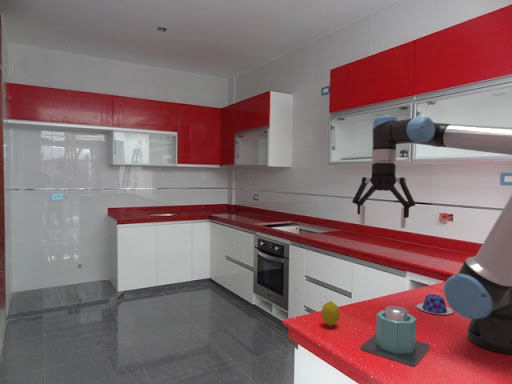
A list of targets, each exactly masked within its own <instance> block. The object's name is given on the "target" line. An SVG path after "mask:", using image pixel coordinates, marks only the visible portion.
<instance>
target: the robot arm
mask: <svg viewBox="0 0 512 384" xmlns="http://www.w3.org/2000/svg"><path fill="white" fill-rule="evenodd" d="M372 124H373V125H372V126H373V127H372V152H371V153H372V154H371V158H372V159H371V161H372V162H373V163H372V164H371V177H367V176H364V177H362V178H361V183H360V186H358V187H359V188H358V189H357V191H356V193H355V195H354V197H353V199H352V203H353V204H355V205H357V215H359V225H365V221H366V204H365V203H366V202H367V201H368V199H369V198H370V197H371V196H372V195H373V193H374V192H376V191H385V192H389V191H390V192H391V193H392V194H393V195H394V196H395V198H396V199H397V200H398V202H399V203H400V204H401V205H402V206H403V207H400V208H401V209H400V229H405V228H406V219H408V218H409V217H410V208H411V207H415V206H416V202H415V200H414V198H413V196H412V194H411V192H410V190H409V188H408V186H407V179H406V178H405V177H399V178H397V176H396V167H397V165H396V164H395V162H396V161H397V159H396V158H397V145H400V144H401V145H402V144H414V145H415V144H417V145H424V146H431V147H434V148H435V147H436V148H447V149H457V150H458V149H459V150H465V151H466V150H467V151H475V152H482V153H483V152H484V153H493V154H498V155H499V154H501V155H508V156H512V127H509V126H507V127H505V126H493V125H491V126H489V125H476V124H475V125H473V124H455V123H452V124H451V123H442V122H441V123H440V122H439V123H438V122H434V121H433V120H432V119H431V118H430V117H429V116H423V117H422V116H421V117H420V116H418V117H417V116H415V117H413V118H408V119H407V118H406V119H401V120H398V118H397V117H396V116H395V115H391V114H390V115H388V114H387V115H386V114H385V115H379V116H376V117H374V119H373V123H372ZM369 183H371V186H370V187H369V189H368V190H367V191H366V192H365V194H363V193H364V191H365V189H366V187H367V186H368V184H369ZM396 183H398V184H397V185H400V188H401V190H402V192H403V194H404V196H405V198H406V199H405V198H404V197H403V196H402V194H401V193H400V192H399V190H398V189H397V188H396V186H395V185H396ZM362 195H363V196H362ZM364 204H365V205H364ZM443 293H444V297H445V299H446V302H447V304H448V307H449V308H450V309H452V310H453V312H455V313H456V314H458V316H461V317H463V318H465V319H469V320H470V321H469V324H468V326H467V332H466V333H467V335H466V336H467V337H466V338H467V339H468V340H469V341H470V342H471V343H472V344H475V345H477V346H478V347H481V348H482V349H486V350H490V351H492V352H495V353H496V352H497V353H499V354H500V353H501V354H506V355H507V354H508V355H512V194H511V195H510V197H509V199H508V200H507V202H506V204H505V205H504V207H503V208H502V211H501V213H500V214H499V216H498V218H497V219H496V221H495V223H494V225H493V226H492V228H491V229H490V231H489V233H488V235H487V236H486V238H485V240H484V241H483V243H482V244H481V246H480V248H479V250H478V252H477V253H476V255H474V256H469V257H467V258H466V259H465V260H464V262H463V264H462V266H461V268H460V269H459V271H458V272H457V273H454V274H453V275H451V276H449V277H448V278H447V280H446V281H445V283H444V286H443Z"/></svg>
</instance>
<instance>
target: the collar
mask: <svg viewBox="0 0 512 384" xmlns="http://www.w3.org/2000/svg"><path fill="white" fill-rule="evenodd" d="M385 310H386V309H385ZM385 310H384V309H383V310H381V311H379V312H376V327H375V328H376V329H375V334H376V343H377V344H378V345H379V346H380V347H381V348H382V349H384V350H387V351H390V352H394V353H397V354H398V353H412V352H413V351H414V350H415V348H416V341H417V320H418V319H417V318H416V317H414V315H412V314H410V313H408V312H407V321H394V320H390V319H386V318H385Z"/></svg>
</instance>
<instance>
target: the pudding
mask: <svg viewBox="0 0 512 384" xmlns="http://www.w3.org/2000/svg"><path fill="white" fill-rule="evenodd" d="M416 308H417V309H419V311H420V310H421V311H422V312H425V313H429V314H433V315H434V314H435V315H451V314H453V313H454V310H453V309H452V308H451V307H449V306H447V305H446V301H445V298H444V297H443V296H441V295H438V294H433V293H432V294H431V293H429V294H426V295H425V298H424V301H423V302H422V303H418V304H416Z"/></svg>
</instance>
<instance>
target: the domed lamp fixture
mask: <svg viewBox="0 0 512 384" xmlns="http://www.w3.org/2000/svg"><path fill="white" fill-rule="evenodd" d="M407 313H408V309H407V308H405V307H403V306H398V305H387V306H385V318H386V319H390V320H394V321H407ZM430 346H431V345H430V343H426V342H423V341H420V340H419V341H418V340H416V348H415V350H414V351H413V352H412V353H398V354H397V353H394V352H390V351H387V350H384V349H382V348H381V347H380V346H379V345H378V344H377V343H376V333H375V334H374V335H372V336H371V337H370V338H369V339H367V340H366V341H365V342H364V343H362V344H361V345H360V351H364V352H367V353H371V354H373V355H376V356H380V357H383V358H385V359H389V360H392V361H394V362H398V363H401V364H404V365H406V366H411V367H413V368H414V367H416V366H417V364H418V363H419V362H420V361H421V360H422V359H423V357H424V355H425V354H426V353H427V352H428V351H429V349H430Z"/></svg>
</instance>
